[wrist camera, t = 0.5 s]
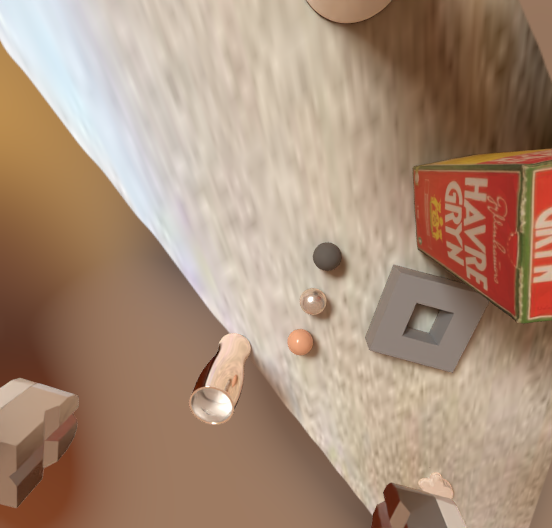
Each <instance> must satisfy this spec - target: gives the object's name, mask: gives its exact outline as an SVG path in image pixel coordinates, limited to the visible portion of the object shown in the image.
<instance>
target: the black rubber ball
mask: <svg viewBox="0 0 552 528" xmlns="http://www.w3.org/2000/svg"><path fill="white" fill-rule="evenodd" d="M313 260H314V263H315V264H316V266H317V267H318V268H320V269H322V270H326V271H328V270H333V269H335V268H336V267H337V266H338V265H339V263H340V261H341V252H340V250H339V248H338V247H337V246H336V245H334V244H332V243H322V244H320V245H319V246H318V247H317V248H316V249H315V251H314V253H313Z"/></svg>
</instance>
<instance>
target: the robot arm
mask: <svg viewBox="0 0 552 528" xmlns="http://www.w3.org/2000/svg"><path fill="white" fill-rule="evenodd" d="M307 1H308V3H309V4H310V5H311V7H312V8H313V9H314V10H315V11H316V12H318V13H319V14H320V15H322V16H323V17H325V18H327V19H329V20H332V21H335V22H339V23H355V22H359V21H363V20H366V19H368V18H370V17H372V16H374V15H375V14H377V13H378V12H380V11H381V10H382V9H384V8H385V7H386V6H387V5H388V4H389V3H390V2H391V1H392V0H307ZM78 401H79V397H78V396H76V395H74V394H71V393H68V392H65V391H61V390H58V389H55V388H52V387H49V386H46V385H42V384H39V383H35V382H32V381H28V380H25V379H22V378H18V379H15V380H12V381H10V382H8V383H7V384H6V385H4V386H3V387H1V388H0V504H2V505H6V506H10V507H14V508H17V507H18V506H19V505H20V504H21V503H22V502H23V500H24V499H25V498H26V497H27V496H28V495H29V494H30V492H31V491H32V490H33V489H34V488H35V487H36V486H37V484H38V483H39V482H40V481H41V480H42V477H43V469H44V468H45V467H47V466H49V465H51V464H53V463H55V462H57V461H58V460H59V459H60V458H61V456H62V455H63V454H64V453H65V452H66V450H67V449H68V447H69V445H70V444H71V442H72V440H73V438H74V436H75V432H76V429H77V419H76V417H75V416H74V414H73V412H74V411H75V410H76V409H77V408H78V403H79V402H78ZM383 494H384V498H385V501H383V502H382V503H380V504H378V505H377V506H376V508H375V510H374V513H373V516H372V524H371V528H467V527H466V525H465V522H464V520H463V518H462V516H461V514H460V512H459V509H458V507H457V505H456V504H455V503H454V501H453V500H452V499H450V498H446V497H442V496H439V495H435V494H431V493H428V492H425V491H421V490H417V489H414V488H410V487H406V486H402V485H399V484H395V483H389V484H388V485H387V486H386V488H385V490H384V492H383Z"/></svg>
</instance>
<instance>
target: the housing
mask: <svg viewBox="0 0 552 528" xmlns="http://www.w3.org/2000/svg"><path fill="white" fill-rule="evenodd" d="M416 303H418V304H422V305H426V306H430V307H433V308H437V309H440V311H439V313H438V315H437V317H436V319H435V322H434V324H433V326H432V328H431V330H430V332H429V333H427V332H423V331H419V330H416V329H412V328H408V327H406V326H407V324H408V321H409V319H410V317H411V314H412V312H413V310H414V307H415V305H416ZM488 303H489V300H487V299H486V298H485V297H483V296H482V295H480V294H479V293H478V292H476V291H475V290H474V289H472V288H471V287H470V286H468V285H467V284H464V283H460V282H457V281H453V280H449V279H445V278H442V277H438V276H434V275H430V274H427V273H423V272H419V271H415V270H411V269H408V268H404V267H400V266H396V265H393V267H392V270H391V273H390V275H389V278H388V280H387V283H386V285H385V288H384V290H383V293H382V296H381V298H380V301H379V303H378V306H377V308H376V311H375V313H374V316H373V319H372V321H371V324H370V326H369V329H368V331H367V334H366V337H365V339H366V342H367V344H368V347H369V350H371V351H374V352H378V353H382V354H385V355H389V356H393V357H396V358H400V359H404V360H407V361H411V362H415V363H418V364H422V365H426V366H430V367H433V368H437V369H441V370H444V371H448V372H452V373H453V371H454V369H455V367H456V365H457V363H458V361H459V359H460V357H461V356H462V354H463V352H464V350H465V348H466V346H467V344H468V342H469V340H470V338H471V336H472V334H473V332H474V330H475V328H476V326H477V325H478V323H479V321H480V319H481V317H482V315H483V313H484V311H485V309H486V307H487V305H488Z"/></svg>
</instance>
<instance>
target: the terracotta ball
mask: <svg viewBox="0 0 552 528" xmlns="http://www.w3.org/2000/svg"><path fill="white" fill-rule="evenodd" d="M312 346H313V339H312V336H311V335H310V333H309V332H307V331H306V330H303V329H297V330H294V331H293V332H292V333H291V334H290V335H289V337H288V347H289V349H290V350H291V352H293V353H294V354H296V355H305V354H307V353H308V352H309V351H310V350H311V349H312Z"/></svg>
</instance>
